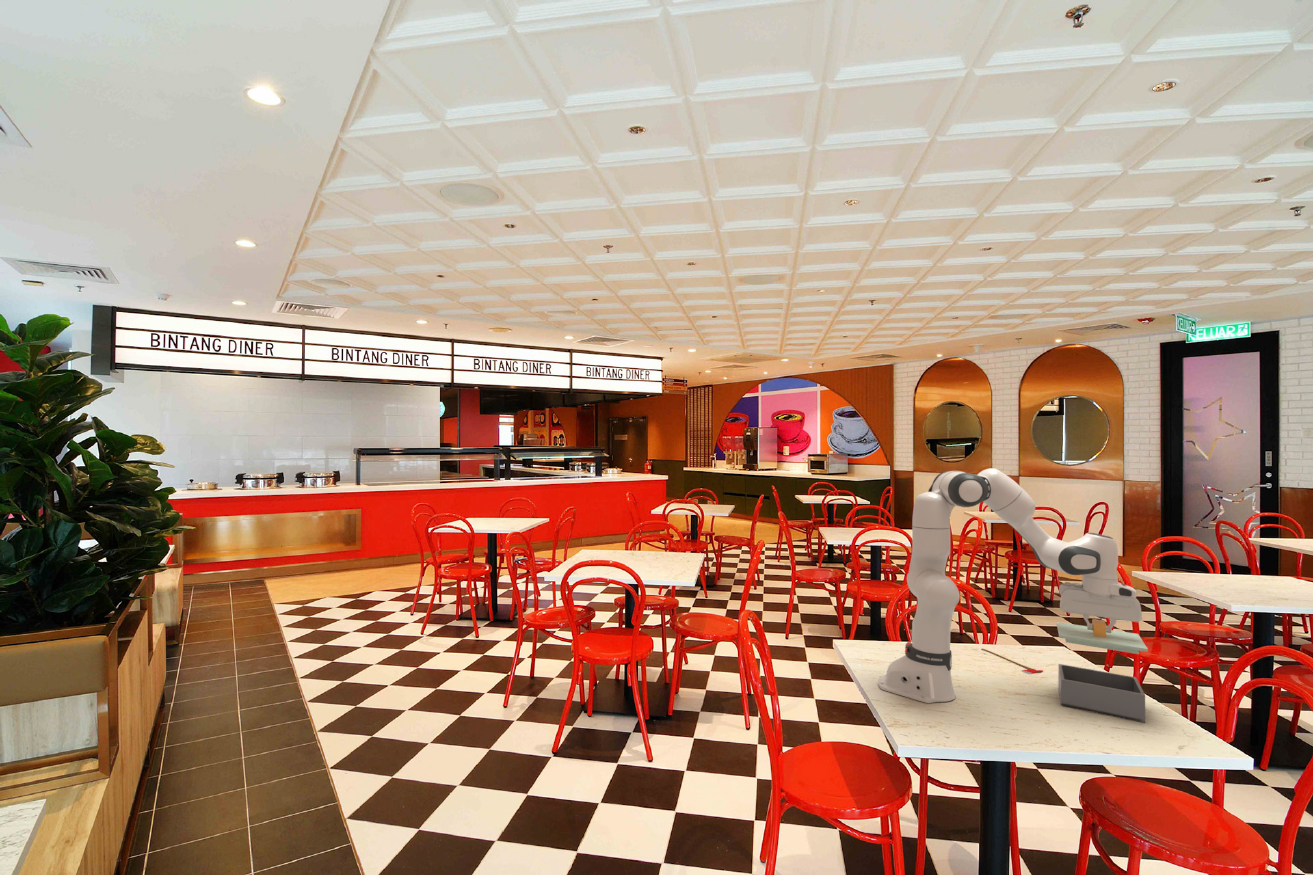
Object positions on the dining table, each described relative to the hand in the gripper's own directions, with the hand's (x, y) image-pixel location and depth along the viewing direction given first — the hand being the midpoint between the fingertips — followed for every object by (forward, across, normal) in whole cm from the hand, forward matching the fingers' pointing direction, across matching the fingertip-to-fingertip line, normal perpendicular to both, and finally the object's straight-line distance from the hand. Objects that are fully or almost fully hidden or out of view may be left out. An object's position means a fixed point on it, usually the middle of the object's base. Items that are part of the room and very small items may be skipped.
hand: (1099, 630), depth 182 cm
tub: (+23, 0, 0) cm, 23 cm away
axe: (+23, -23, +29) cm, 44 cm away
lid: (+3, 0, 0) cm, 3 cm away
